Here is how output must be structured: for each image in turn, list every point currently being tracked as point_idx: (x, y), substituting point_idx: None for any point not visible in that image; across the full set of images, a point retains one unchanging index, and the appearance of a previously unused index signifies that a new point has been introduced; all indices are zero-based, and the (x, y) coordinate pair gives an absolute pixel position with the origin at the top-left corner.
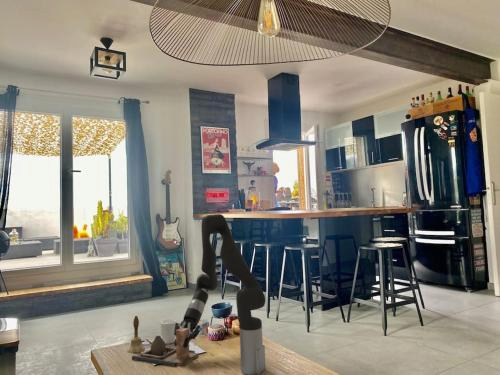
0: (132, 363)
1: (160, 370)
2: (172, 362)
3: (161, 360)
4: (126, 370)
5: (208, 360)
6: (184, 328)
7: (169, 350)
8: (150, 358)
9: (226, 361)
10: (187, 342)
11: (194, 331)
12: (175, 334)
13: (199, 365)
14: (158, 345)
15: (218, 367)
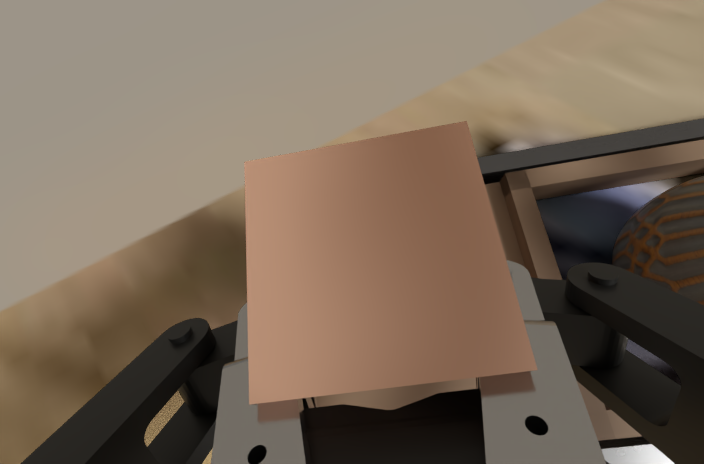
0: (679, 81)
1: (391, 110)
2: None
3: (479, 162)
4: (585, 10)
5: None
6: (379, 359)
7: None
8: (601, 144)
9: None
10: None
11: (102, 416)
12: (568, 274)
13: (203, 290)
14: (696, 196)
15: (63, 326)
